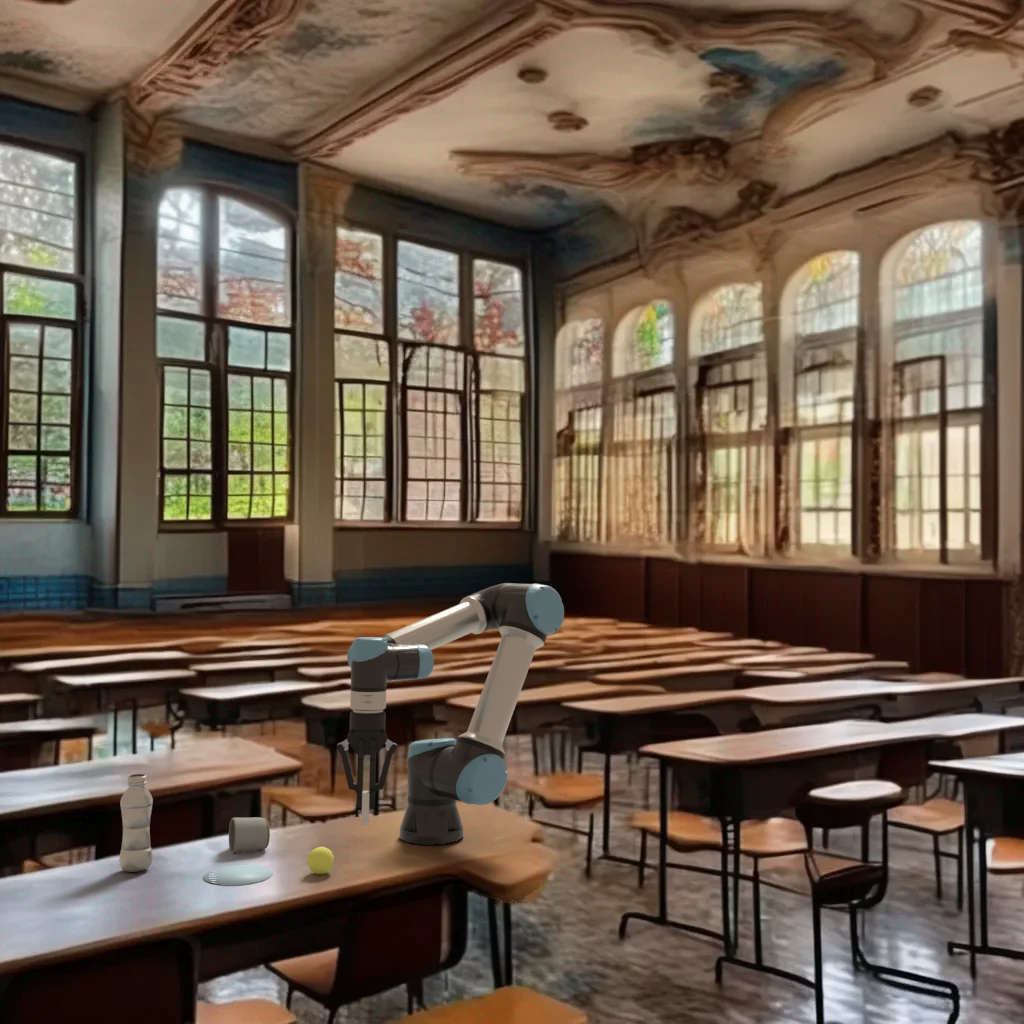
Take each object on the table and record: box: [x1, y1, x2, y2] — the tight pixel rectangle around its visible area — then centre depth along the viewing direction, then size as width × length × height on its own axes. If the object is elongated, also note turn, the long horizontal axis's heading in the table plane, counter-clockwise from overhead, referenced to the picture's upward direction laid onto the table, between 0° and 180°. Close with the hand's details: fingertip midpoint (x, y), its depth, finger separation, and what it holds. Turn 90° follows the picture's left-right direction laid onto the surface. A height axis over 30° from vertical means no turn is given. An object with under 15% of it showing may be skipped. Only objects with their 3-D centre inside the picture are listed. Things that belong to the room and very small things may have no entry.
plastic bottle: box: [119, 773, 154, 873], centre depth 235 cm, size 6×7×20 cm
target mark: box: [203, 864, 274, 887], centre depth 232 cm, size 14×14×1 cm
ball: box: [307, 846, 335, 875], centre depth 233 cm, size 6×6×6 cm
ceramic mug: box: [228, 816, 271, 854], centre depth 252 cm, size 11×8×8 cm
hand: (365, 822), depth 234 cm, fingers closed
